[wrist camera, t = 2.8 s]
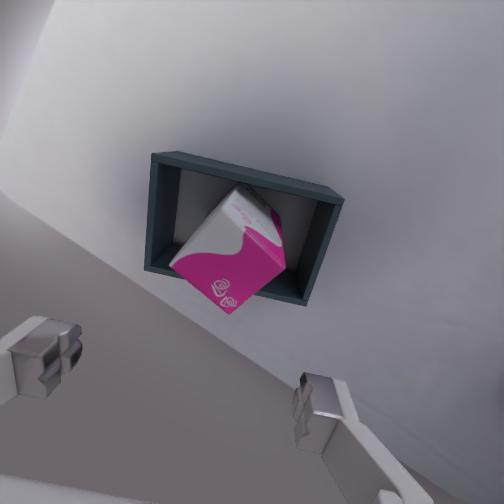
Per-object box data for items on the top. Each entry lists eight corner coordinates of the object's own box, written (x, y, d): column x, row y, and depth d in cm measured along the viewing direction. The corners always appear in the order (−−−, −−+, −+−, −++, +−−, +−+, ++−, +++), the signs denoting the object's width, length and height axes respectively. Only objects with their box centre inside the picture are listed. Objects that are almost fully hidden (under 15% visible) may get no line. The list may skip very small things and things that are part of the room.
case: (167, 246, 29) (143, 270, 24) (176, 151, 25) (151, 152, 20) (299, 276, 30) (306, 306, 24) (328, 187, 26) (345, 198, 20)
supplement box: (203, 218, 28) (163, 264, 17) (242, 177, 26) (224, 201, 15) (243, 255, 29) (228, 318, 18) (282, 218, 27) (291, 266, 17)
